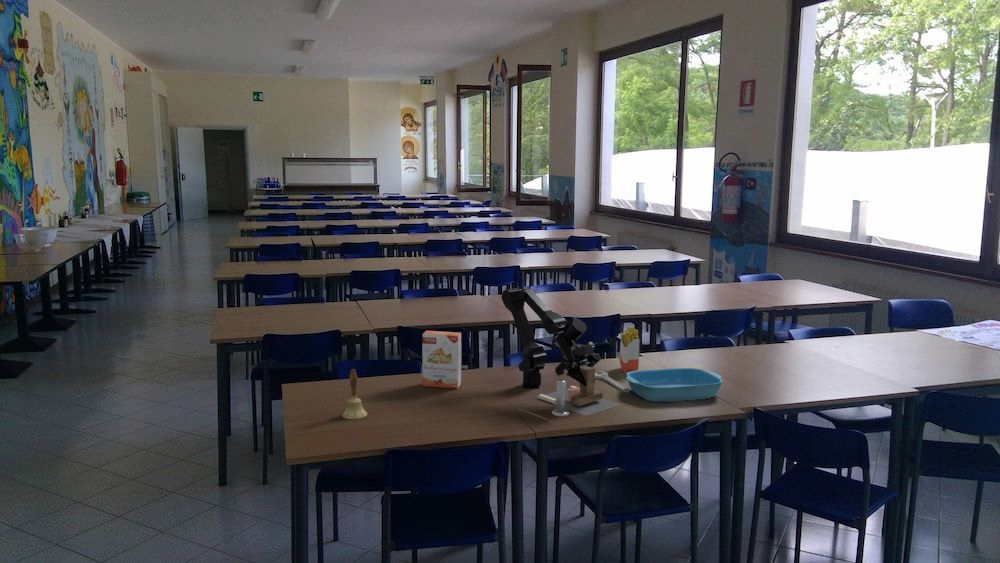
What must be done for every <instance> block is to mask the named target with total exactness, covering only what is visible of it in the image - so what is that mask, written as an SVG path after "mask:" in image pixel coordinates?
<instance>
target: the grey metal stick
mask: <svg viewBox="0 0 1000 563" xmlns="http://www.w3.org/2000/svg"><path fill="white" fill-rule="evenodd" d="M566 389H567V379H563V378H562V379H561V378H559V379H558V378H557V379H556V391H555V392H556V405H555V409H552V411H551V414H552V415H553V416H556V417H567V416H570V410H569V409H566Z"/></svg>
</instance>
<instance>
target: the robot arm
mask: <svg viewBox="0 0 1000 563" xmlns="http://www.w3.org/2000/svg"><path fill="white" fill-rule="evenodd" d="M500 297H501V301H502V303H503V305H504V306H505V308H506V309H507V310H508V311H509V312H510V313H511V316H512V318H513V320H514V321H513V322H514V324H515V327H516V329H517V332H518V335H519V337H520V341H521V343H522V344H521V345H522V346H523V350H522V359H523V360H522V361H521V362H520V363H519V364H518V370H519V371H520V372H522V373H523V374H522V388H524V389H525V388H530V389H539V388H540V386H541V385H542V373H541V370H544V369H545V367H546V362H547V353H546V351H545V348H544V346H543V345H539V344H538V343H537V341H536V339H535V336H534V333H533V331H532V328H531V325H530V322H529V320H528V317H527V314H526V311H525V303H526V304H527V305H528V307H529V308H530V309H531V311H533V312H534V314H536V315H537V316H538V318H539V319H540V321H541V325H542V327H543V328H544V330H545V332H546V333H547V334H548V335H554V336H552V341H551V344H552V345H555V344H557V345H558V348H559V349H560V351H561V353H562V354H561V355H560V356H561V358H562V359H563V358H565V360H563V361H561V362H560V363H559V364H558V365H557V366H556V367H554V370H555V374H556V375H557V377H559V376H563V375H565V376H567V377H570V378H572V379H573V380H574V381H576V382H578V383H579V384H580V383H581V384H582V385H584V386H587V383H586V380H585V378H584V377H583V375H582V373H581V371H580V370H581V368H583V367H587V366H588V367H592V368H594V367H595V366H596V365H597V363H599V362H600V361H601V360H602V357H601V356H600V354H599V353H597V352H596V353H594V351H595V350H596V346H595V344H594V343H593V341H589V342H587V343H585V345H582V346H581V345H580V344H576V341H577V340H578V339H579V338H580V337H582V335H584V334H585V333H586V331H587V329H588V327H587V325H586V323H585V322H584V321H583V320H582V319H578V317H577V316H572V317H570V319H569V321H567V319H566V318H564V317H563V316H562V315H561V314H559V313H557V312H554V311H552V310H551V309H550V308H549V307H548V306H547V304H545V302H544V301H543V300H542V299H541V298H540V297H539V296H538V295H537V294H536V292H535V290H534V289H533V288H530V287H529V288H528V287H527V288H522V289H521V288H518V287H516V288H515V287H514V288H509V289H504V290H503V291H502V294H501V296H500ZM555 334H557V335H556V336H555ZM565 371H566V372H567V373H565Z"/></svg>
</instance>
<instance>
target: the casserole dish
mask: <svg viewBox="0 0 1000 563" xmlns="http://www.w3.org/2000/svg"><path fill="white" fill-rule="evenodd" d="M626 381H627V382H628V384H629V385H628V386H629V387H630V388H629V389H630V390H631V391H632V392H634V393H635V394H636V395H637V396H639V397H641V399H644V400H645V401H648V402H654V403H669V402H670V403H671V402H683V401H685V400H688V401H697V400H696V399H700V400H706V398H708V399H712V398H713V397H715V396H716V395H717V394H718V393H719V391H720V388H721V386H722V384H723V379H722V376H721V375H720V374H718V373H715V372H713V371H708V370H705V369H701V368H698V367H696V368H694V367H677V368H676V367H675V368H673V367H672V368H660V369H659V368H657V369H643V370H637V371H631V372H628V373H626ZM711 397H712V398H711ZM685 402H686V401H685Z"/></svg>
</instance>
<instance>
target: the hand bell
mask: <svg viewBox="0 0 1000 563" xmlns="http://www.w3.org/2000/svg"><path fill="white" fill-rule="evenodd" d="M349 384H350V388H351V398H349V399H348V400H347V402H346V405H347V406H346V409H345V411H344V412H343V413H342V418H343V419H345V420H359V419H363V418H365V417H367V416H368V412H367V411H366V410H365V409H364V407H363V404H362V400H361V398H360V397H359V398H358V395H357V394H358V393H357V384H358V375H357V372H356V369H355V368H352V369H350V373H349Z"/></svg>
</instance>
